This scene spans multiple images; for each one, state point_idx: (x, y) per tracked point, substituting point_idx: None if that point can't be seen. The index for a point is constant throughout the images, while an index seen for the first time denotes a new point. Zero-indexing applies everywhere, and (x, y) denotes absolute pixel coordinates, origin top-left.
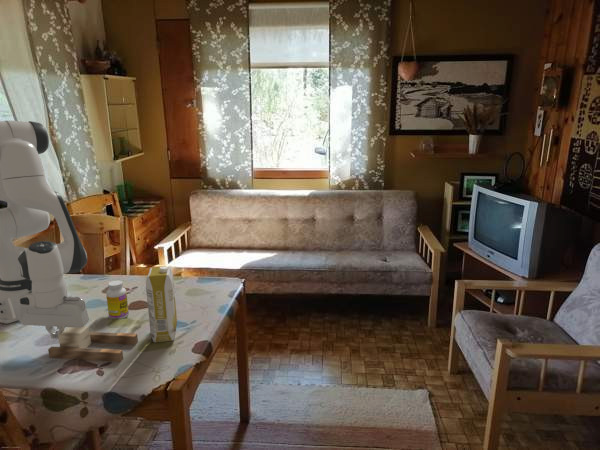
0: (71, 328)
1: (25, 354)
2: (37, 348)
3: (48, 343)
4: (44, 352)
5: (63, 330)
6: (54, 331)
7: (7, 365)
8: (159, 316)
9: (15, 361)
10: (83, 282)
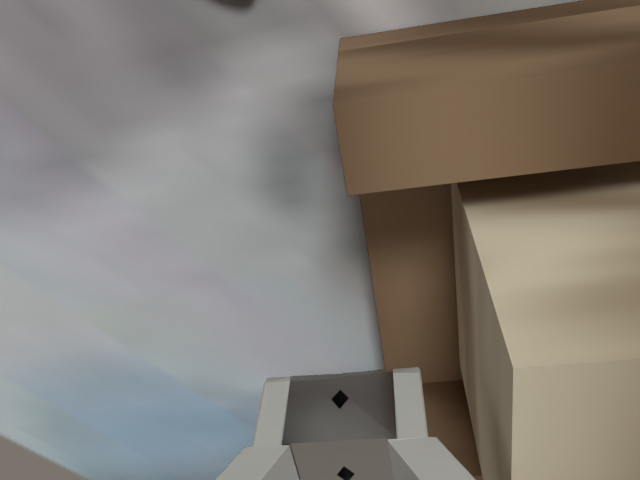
0: (619, 447)
1: (61, 355)
2: (54, 257)
3: (58, 146)
4: (201, 299)
5: (455, 465)
6: (292, 477)
7: (98, 475)
8: None
9: (97, 435)
10: None
